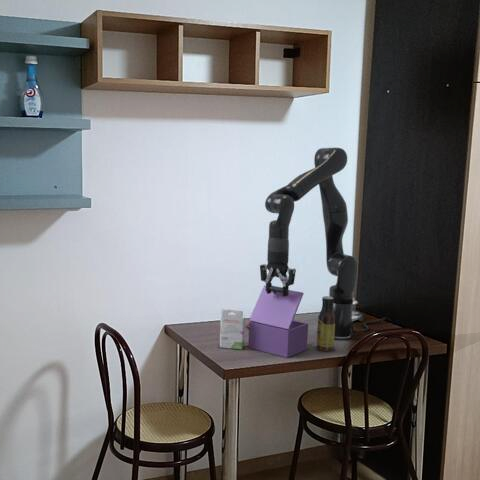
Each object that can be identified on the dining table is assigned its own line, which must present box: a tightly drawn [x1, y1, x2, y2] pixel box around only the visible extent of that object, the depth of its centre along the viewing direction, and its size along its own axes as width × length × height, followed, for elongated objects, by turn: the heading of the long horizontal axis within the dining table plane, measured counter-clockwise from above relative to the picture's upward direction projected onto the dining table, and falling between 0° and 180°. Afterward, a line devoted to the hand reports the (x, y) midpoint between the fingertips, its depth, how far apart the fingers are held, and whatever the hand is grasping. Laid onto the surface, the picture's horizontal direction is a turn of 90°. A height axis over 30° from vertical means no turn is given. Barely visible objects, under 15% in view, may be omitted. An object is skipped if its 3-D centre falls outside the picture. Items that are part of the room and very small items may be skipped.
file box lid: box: [248, 284, 304, 330], centre depth 234 cm, size 15×17×5 cm
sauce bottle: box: [316, 295, 335, 352], centre depth 238 cm, size 6×6×20 cm
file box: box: [247, 319, 309, 358], centre depth 239 cm, size 14×17×10 cm
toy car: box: [352, 297, 364, 322], centre depth 281 cm, size 18×10×12 cm
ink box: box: [219, 308, 246, 350], centre depth 239 cm, size 9×5×15 cm, turn 74°
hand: (276, 294), depth 235 cm, fingers closed on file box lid, 6 cm apart
